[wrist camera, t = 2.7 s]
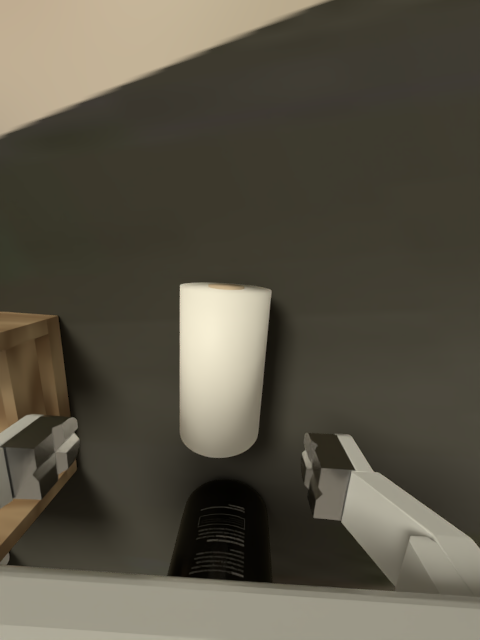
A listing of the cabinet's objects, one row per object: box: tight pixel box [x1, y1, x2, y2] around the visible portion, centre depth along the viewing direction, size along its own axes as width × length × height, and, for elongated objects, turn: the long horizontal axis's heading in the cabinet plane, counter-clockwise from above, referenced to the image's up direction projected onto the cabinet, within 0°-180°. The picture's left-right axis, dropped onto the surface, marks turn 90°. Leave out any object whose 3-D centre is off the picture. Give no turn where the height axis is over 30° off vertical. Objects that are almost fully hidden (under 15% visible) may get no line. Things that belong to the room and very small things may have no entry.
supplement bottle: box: [167, 479, 273, 583], centre depth 14 cm, size 7×7×12 cm
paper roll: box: [180, 282, 272, 458], centre depth 15 cm, size 9×5×5 cm, turn 176°
